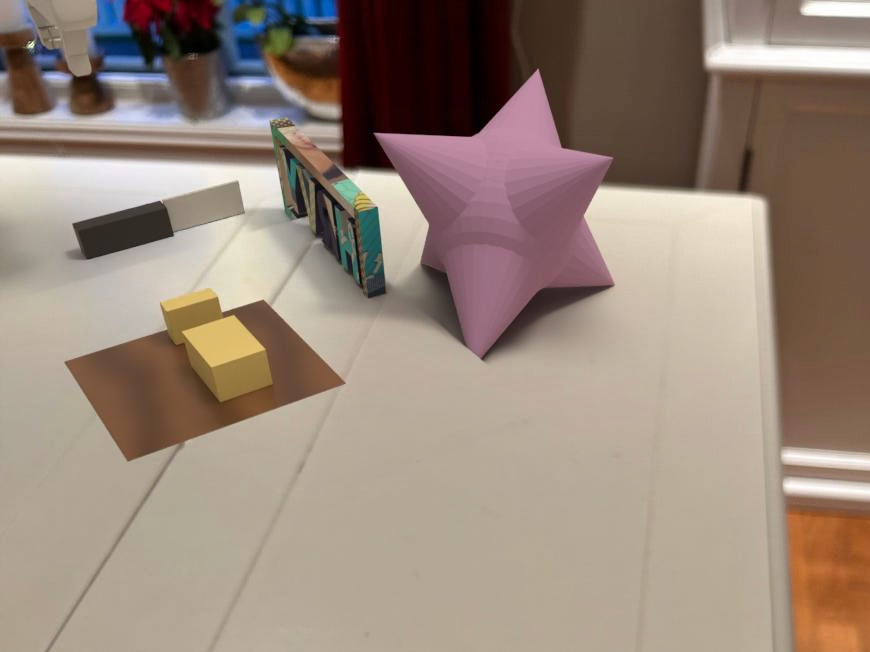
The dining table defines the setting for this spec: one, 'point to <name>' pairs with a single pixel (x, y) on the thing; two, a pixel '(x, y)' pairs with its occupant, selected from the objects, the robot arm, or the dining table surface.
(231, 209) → the knife
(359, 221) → the decorative block
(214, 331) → the butter block
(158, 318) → the dining table surface
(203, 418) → the cutting board
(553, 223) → the decorative object
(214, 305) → the butter slice
